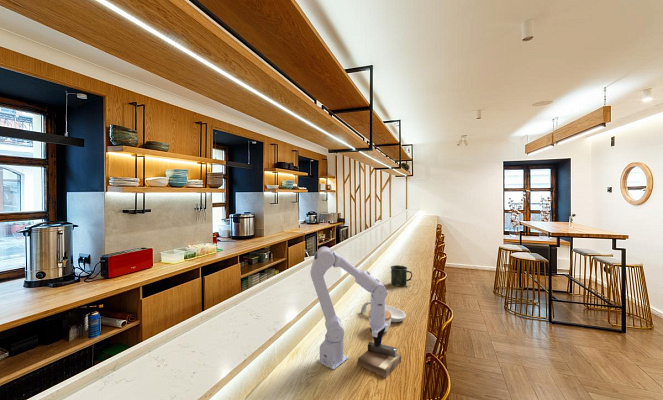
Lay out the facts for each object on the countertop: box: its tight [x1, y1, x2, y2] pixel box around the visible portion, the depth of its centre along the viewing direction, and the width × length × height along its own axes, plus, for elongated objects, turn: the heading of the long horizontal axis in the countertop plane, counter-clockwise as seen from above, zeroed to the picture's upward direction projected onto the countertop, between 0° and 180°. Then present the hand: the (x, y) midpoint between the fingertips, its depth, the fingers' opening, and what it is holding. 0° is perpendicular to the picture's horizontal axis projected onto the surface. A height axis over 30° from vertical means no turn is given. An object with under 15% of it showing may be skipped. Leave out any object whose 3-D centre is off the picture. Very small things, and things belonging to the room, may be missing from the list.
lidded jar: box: [367, 310, 392, 333], centre depth 137 cm, size 11×11×9 cm
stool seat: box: [357, 349, 402, 378], centre depth 111 cm, size 12×12×3 cm
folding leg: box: [367, 341, 398, 357], centre depth 113 cm, size 11×2×2 cm, turn 65°
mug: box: [390, 264, 413, 288], centre depth 200 cm, size 11×15×12 cm
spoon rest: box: [360, 300, 407, 323], centre depth 150 cm, size 24×12×7 cm, turn 57°
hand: (377, 345), depth 116 cm, fingers closed, pressing on folding leg
